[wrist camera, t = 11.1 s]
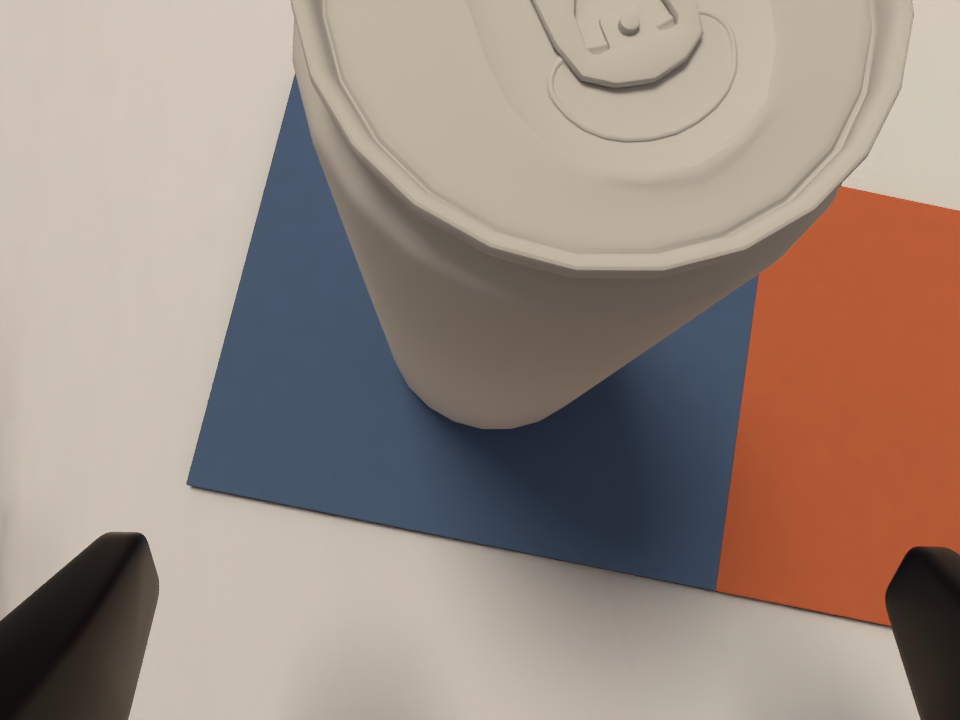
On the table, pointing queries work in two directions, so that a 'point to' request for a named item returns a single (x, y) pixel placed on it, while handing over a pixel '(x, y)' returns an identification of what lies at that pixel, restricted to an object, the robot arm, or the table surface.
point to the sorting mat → (624, 412)
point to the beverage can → (578, 169)
